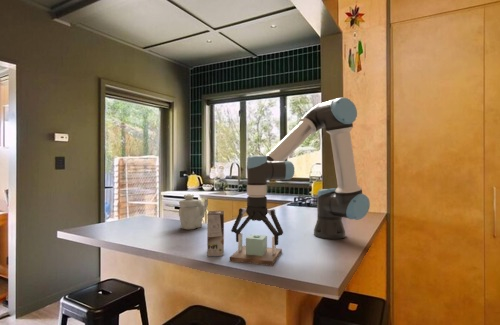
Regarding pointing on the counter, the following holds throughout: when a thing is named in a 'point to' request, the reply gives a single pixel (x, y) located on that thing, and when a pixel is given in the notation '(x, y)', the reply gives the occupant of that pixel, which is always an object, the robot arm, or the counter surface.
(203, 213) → the teapot
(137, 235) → the counter surface
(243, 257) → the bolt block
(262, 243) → the pale green cube
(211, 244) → the coffee box
